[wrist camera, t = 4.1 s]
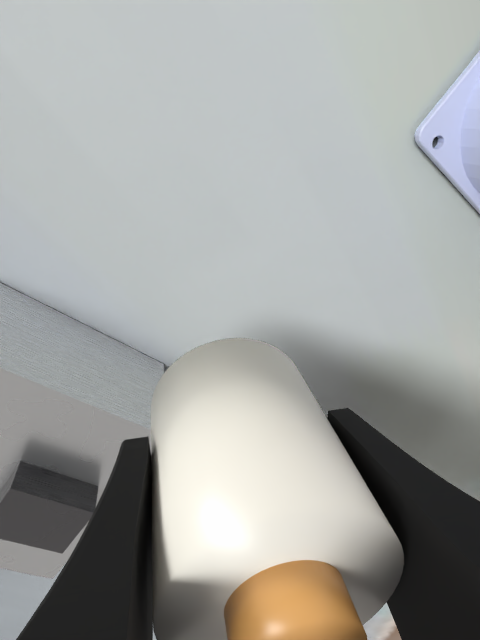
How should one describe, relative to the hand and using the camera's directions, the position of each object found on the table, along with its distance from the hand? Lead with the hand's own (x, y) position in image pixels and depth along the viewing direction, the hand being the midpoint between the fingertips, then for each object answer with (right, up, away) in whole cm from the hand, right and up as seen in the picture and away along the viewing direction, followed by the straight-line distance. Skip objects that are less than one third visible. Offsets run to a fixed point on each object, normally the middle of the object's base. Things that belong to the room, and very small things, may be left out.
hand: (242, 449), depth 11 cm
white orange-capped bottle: (0, +1, +2) cm, 2 cm away
